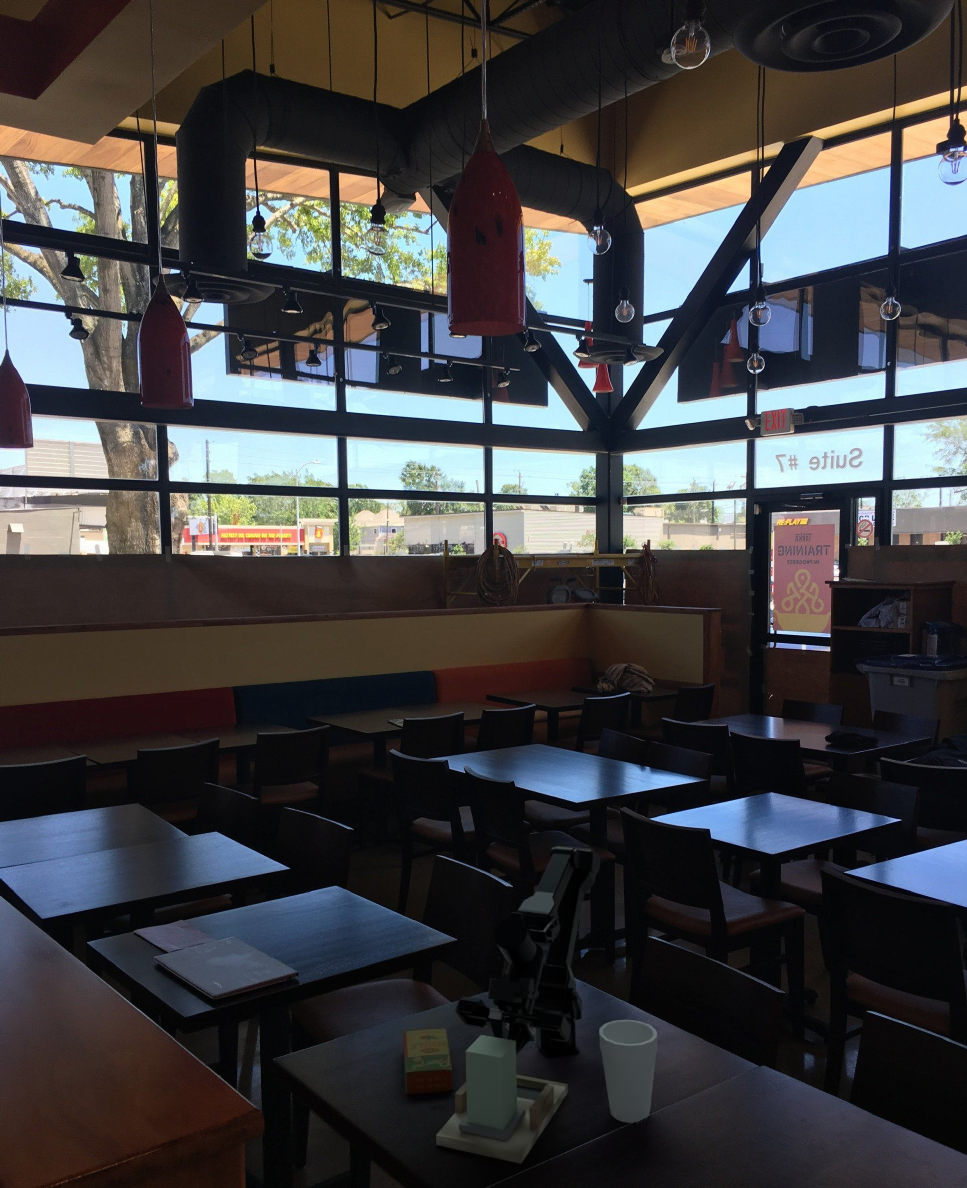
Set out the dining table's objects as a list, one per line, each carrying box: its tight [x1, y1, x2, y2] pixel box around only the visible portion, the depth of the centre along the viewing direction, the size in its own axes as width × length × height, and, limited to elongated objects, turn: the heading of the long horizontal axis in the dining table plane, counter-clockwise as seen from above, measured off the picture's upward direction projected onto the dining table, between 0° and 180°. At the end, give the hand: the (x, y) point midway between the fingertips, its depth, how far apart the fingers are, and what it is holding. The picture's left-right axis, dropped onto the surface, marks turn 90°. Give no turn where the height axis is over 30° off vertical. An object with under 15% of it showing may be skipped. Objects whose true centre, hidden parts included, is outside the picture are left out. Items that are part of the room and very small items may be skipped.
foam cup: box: [598, 1019, 659, 1124], centre depth 157 cm, size 10×9×13 cm
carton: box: [402, 1028, 454, 1095], centre depth 173 cm, size 8×16×4 cm, turn 6°
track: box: [435, 1074, 569, 1165], centre depth 156 cm, size 22×14×4 cm, turn 157°
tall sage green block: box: [459, 1034, 526, 1141], centre depth 151 cm, size 8×8×12 cm
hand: (499, 1071), depth 154 cm, fingers closed, pressing on tall sage green block
